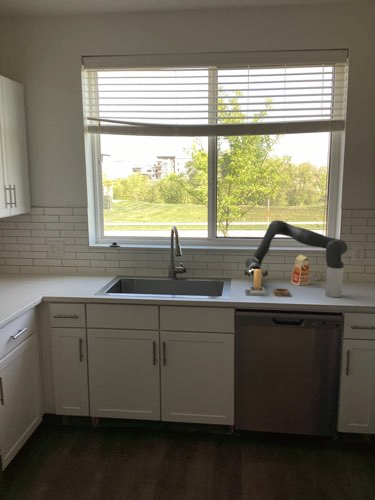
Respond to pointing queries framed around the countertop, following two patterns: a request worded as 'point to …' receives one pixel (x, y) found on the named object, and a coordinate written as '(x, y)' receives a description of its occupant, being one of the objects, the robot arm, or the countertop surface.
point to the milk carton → (301, 271)
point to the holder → (281, 292)
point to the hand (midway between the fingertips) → (256, 275)
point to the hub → (257, 292)
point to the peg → (257, 279)
